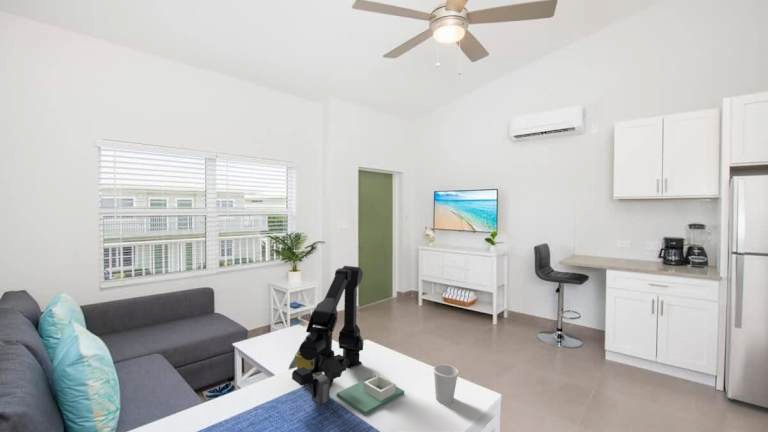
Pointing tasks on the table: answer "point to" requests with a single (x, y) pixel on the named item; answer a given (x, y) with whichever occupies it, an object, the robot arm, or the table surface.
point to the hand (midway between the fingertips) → (320, 394)
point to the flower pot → (304, 363)
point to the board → (370, 394)
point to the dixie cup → (445, 383)
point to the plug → (322, 389)
